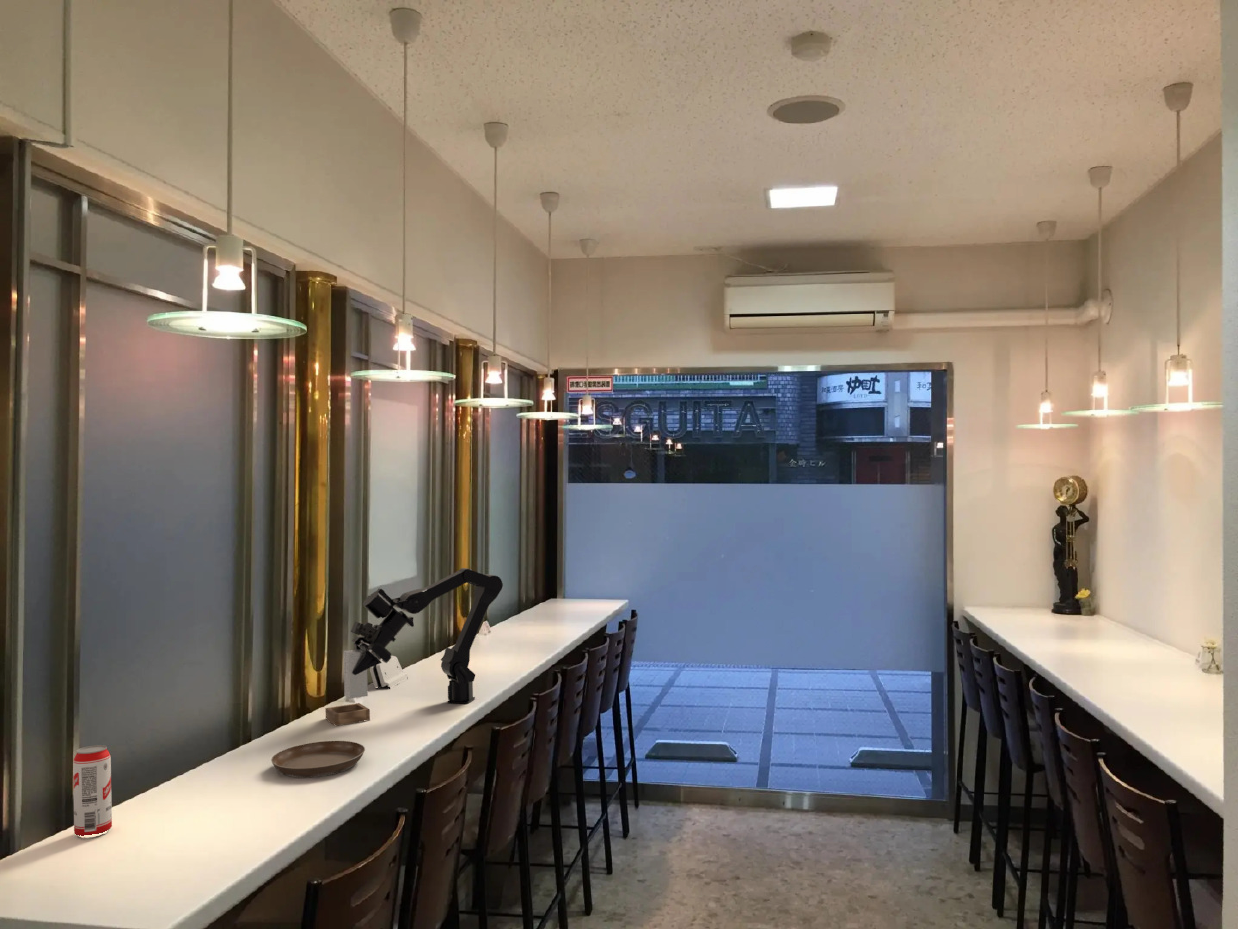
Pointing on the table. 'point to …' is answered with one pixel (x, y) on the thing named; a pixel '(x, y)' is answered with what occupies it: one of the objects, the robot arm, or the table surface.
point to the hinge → (387, 673)
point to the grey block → (354, 683)
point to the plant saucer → (318, 758)
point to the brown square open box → (347, 714)
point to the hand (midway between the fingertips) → (350, 672)
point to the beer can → (92, 790)
